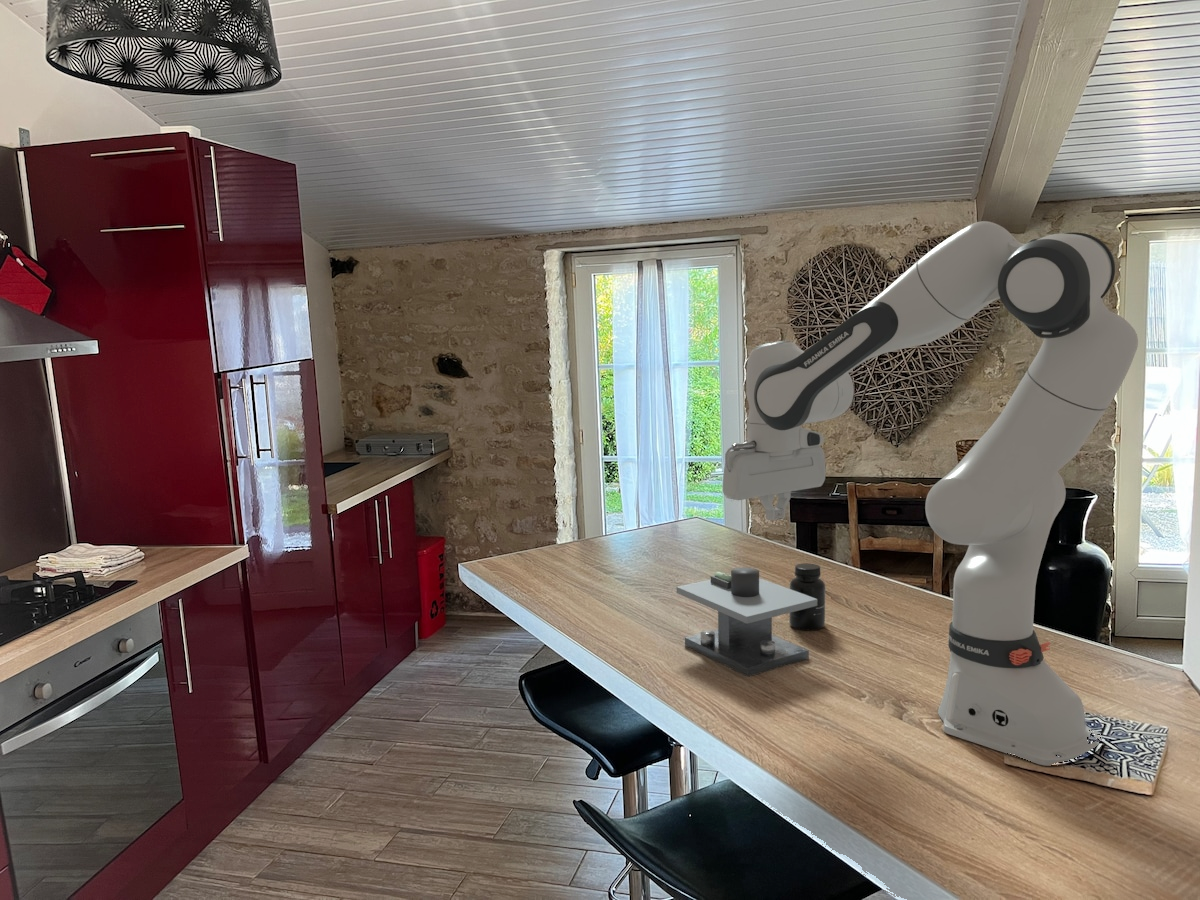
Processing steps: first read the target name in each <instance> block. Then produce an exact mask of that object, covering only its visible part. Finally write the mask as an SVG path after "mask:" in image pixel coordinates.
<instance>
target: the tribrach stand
mask: <svg viewBox="0 0 1200 900" xmlns="http://www.w3.org/2000/svg"><path fill="white" fill-rule="evenodd" d="M772 625H773V617H771V618H767V619H763V620H759V621H755V622H752V623H748V624H747V623H744V622H742V621H740V620H737V619H735V618H733V617H730V616H728V615H726V614H724V613H721V612H719V611H717V626H718V627H717V629H712V630H703V631H701V632H700V633H696V634H694V635H690V636H685V637H684V646H685V647H686V648H688V649H691V650H693V651H695V652H697V653H699V654H701V655H704V656H706V657H707V658H709V659H712V660H713V661H715V662H716V663H719V664H721V665H724V666H725V667H728V668H729V669H731V670H734V671H735V672H738V673H739V674H742V675H744V676H746V677H752V676H754V675H759V674H761V673H762V674H763V673H765V672H768V671H772V670H775V669H778V668H783V667H787V666H789V665H792V664H796V663H800V662H802V661H806V660H809V659H810V649H807V648H804V647H802V646H800V645H798V644H795V643H792V642H790V641H788V640H785V639H783V638H780V637H778V636H776V635H773V629H772V628H773V626H772Z"/></svg>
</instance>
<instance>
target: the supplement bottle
mask: <svg viewBox="0 0 1200 900" xmlns="http://www.w3.org/2000/svg"><path fill="white" fill-rule="evenodd" d="M794 566H795V567H794V578H792V579H791V580H790V582H789V589H791V590H794V591H797V592H799V593H802V594H805V595H807V596H810V597H813V598H816V599H817V606H814V607H810V608H806V609H802V610H799V611H795V612H791V613H788V614H789V616H788V618H789V624H790V627H792V628H794V629H796V630H800V631H818V630H820V629H823V627H825V625H826V624H825V623H826V622H825V621H826V620H825V619H826V584H825V582H824V580H823V579H822V578H820V577H821V566H820V565H819V564H815V563H798V564H796V565H794Z"/></svg>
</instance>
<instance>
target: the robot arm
mask: <svg viewBox="0 0 1200 900" xmlns="http://www.w3.org/2000/svg"><path fill="white" fill-rule="evenodd" d="M1115 261H1116V260H1115V258H1114V254H1113V253H1112V250H1110V248H1109V247H1108V246H1107V245H1106V243H1104V242H1103V241H1102V240H1101V239H1099V238H1098V237H1095V236H1093V235H1091V234H1088V233H1085V232H1064V233H1063V232H1062V233H1061V232H1060V233H1054V234H1053V233H1052V234H1050V235H1046V236H1043V237H1038V238H1034V239H1030V240H1028V242H1027V243H1022V242H1020V241H1019V240H1017V239H1016V238H1015V237H1014V235H1013V234H1012V233H1011V232H1010V231H1008V229H1006V228H1005V227H1004V226H1002V225H1000V224H997V223H995V222H992V221H987V220H982V221H976V222H974V223H971V224H969V225H967V226H966V227H964V228H962V229H960V230H958V231H957V232H955V233H954V234H952V235H951V236H949V237H947V238H946V239H944V240H943V241H942V242H940V243H939V244H938V245H936V246H935V247H933V248H932V249H930V250H929V251H928V252H927V253H926V254H925V255H923V256H922V257H921V258H919V259H918V260H917V261H916V262H915V263H914V264H912V265H911V266H910V267H909V268H908V269H906V270H905V272H903V273H902V274H901V275H900V276H899V277H897V279H895V280H894V281H893V282H892V283H891V284H889V285H888V286H887V287H886V288H885V289H884V290H882V292H880V293H879V294H878V295H877V296H875V297H874V298H873V299H872V300H870V301H868V303H866V304H865V305H864V306H863V307H862V308H861V309H860V310H859V311H857V312H856V313H855V314H853V315H852V316H850V317H848V318H847V319H846V320H844V321H843V322H842V323H841V324H839V325H838V326H836V327H835V328H834V329H833V330H831V331H830V332H829V333H827V334H826V335H825V336H823V337H821V338H820V339H819V340H818V341H817V342H815V343H814V344H813V345H812V346H810V347H808V348H807V349H806V350H805V351H804V350H802V349H801V348H800V347H799V346H798V345H797V344H796V343H795V342H794V341H789V340H780V341H775V342H767V343H764V344H760V345H758V346H755V347H754V348H753V349H752V350H751V351H750V353H749V355H748V358H747V364H746V375H745V376H746V380H745V382H746V383H745V384H746V386H745V387H746V389H745V393H746V400H747V402H748V414H747V420H746V422H747V423H746V425H747V431H746V434H747V441H746V442H741V443H734V444H731V446H730V447H729V448H728V449H727V450H726V452H725V453H724V468H723V477H722V493H723V495H724V496H725V497H726V499H730V500H733V501H734V500H735V501H743V500H748V499H753V498H755V499H756V498H759V501H760V503H761V505H762V506H763V508H764V510H765V519H766V520H767V521H770V522H771V521H776V520H782V519H785V518H786V509H787V506H788V504H789V502H790V500H791V497H792V496H791V493H792V492H797V491H801V490H807V489H814V488H819V487H822V486H823V485H824V482H825V481H826V455H825V451H824V449H823V448H822V447H821V446H823V445H824V442H825V439H824V438H825V435H824V434H823V433H822V432H819V431H815V430H811V429H808V428H805V427H802V426H803V425H809V424H815V423H820V422H824V421H830V420H834V419H836V418H838V417H841V416H843V415H844V414H846V412H847V411H848V410H849V409H850V408H851V406H852V404H853V402H854V397H855V385H854V381H853V380H854V379H853V378H852V375H851V373H850V372H851V371H852V370H854V369H856V368H857V367H859V366H860V365H861V364H863V363H864V362H867V361H869V360H871V359H873V358H875V357H877V356H880V355H884V354H888V353H891V352H895V351H899V350H903V349H909V348H914V347H919V346H922V345H923V346H924V345H927V344H930V343H933V342H934V341H936V340H938V339H940V338H942V337H944V336H946V335H948V334H950V333H952V332H953V331H955V330H956V329H958V328H960V327H961V326H962V325H964V324H965V323H966V322H968V321H969V320H970V319H971V318H973V317H974V316H975V315H976V314H978V313H979V312H980V311H982V310H984V308H986V307H987V306H989V304H992V303H993V302H995V301H997V300H1000V301H1001V303H1002V305H1003V306H1004V308H1005V309H1006V310H1007V311H1008V312H1009V313H1010V314H1011V315H1012V316H1014V317H1015V318H1016V319H1017V320H1018V321H1020V322H1021V323H1023V324H1024V325H1025V326H1026V327H1027V328H1028V329H1029V330H1030V331H1031V332H1032V333H1033V334H1034V335H1035V337H1038V338H1041V339H1043V341H1042V344H1041V345H1040V348H1039V350H1038V352H1037V354H1036V356H1034V359H1033V360H1032V362H1031V364H1030V365H1029V367H1028V369H1027V370H1026V371H1025V373H1024V375H1023V377H1021V378H1022V379H1021V380H1020V382H1019V383H1018V385H1017V387H1016V388H1015V390H1014V392H1013V394H1012V395H1011V397H1010V398H1009V400H1008V402H1007V403H1006V405H1005V407H1004V408H1003V410H1001V413H1000V414H999V416H998V417H997V418H996V420H995V421H994V422H993V423H992V425H991V426H990V427H989V428H988V429H987V431H986V432H985V433H983V435H982V436H981V437H980V438H979V439H978V440H977V442H975V444H974V445H973V446H972V447H971V448H970V449H969V451H967V453H966V454H964V456H963V457H962V458H961V460H960V461H959V462H958V463H957V464H956V465H955V466H954V468H952V470H951V471H949V472H948V473H947V474H946V475H945V476H943V478H941V479H940V480H938V481H937V482H936V483H935V484H934V485H933V486H932V487H931V488H930V490H929V491H928V492H927V496H926V499H925V504H924V505H925V506H924V509H925V516H926V519H927V523H928V524H929V526H930V528H931V529H932V531H933V532H934V533H935V534H936V536H938V537H939V538H940V539H942V540H944V541H945V542H947V543H949V544H954V545H957V546H958V545H961V546H968V547H967V550H966V552H965V555H964V557H963V559H962V560H961V561H960V563H959V564H958V566H957V568H956V570H955V572H954V577H953V589H952V590H953V592H952V594H953V595H952V621H951V622H950V623H949V627H948V644H947V645H948V649H949V652H950V657H949V666H948V673H947V677H946V678H947V679H946V683H945V687H944V692H943V694H942V699H941V702H940V704H939V707H938V709H937V713H938V715H939V717H940V719H941V721H942V722H943V725H942V730H943V732H944V733H945V734H948V735H950V736H953V737H956V738H959V739H962V740H964V741H968V742H971V743H973V744H976V745H981V746H983V747H985V748H989V749H992V750H995V751H998V752H1001V753H1003V754H1007V753H1008V754H1007V755H1010V753H1011V754H1015V755H1016V756H1018V757H1020V758H1019V759H1021V758H1023V760H1024V759H1026V760H1025V761H1027V760H1028V762H1030V761H1031V763H1034V764H1037V765H1039V766H1044V767H1046V766H1047V767H1051V765H1052V764H1054V763H1055V764H1056V763H1057V762H1063V761H1068V760H1070V759H1074V758H1076V757H1079V756H1080V755H1082V754H1084V753H1085V752H1087V751H1089V750H1091V749H1093V748H1095V747H1096V746H1097V745H1099V742H1092V744H1091V741H1090V744H1088V742H1089V740H1088V741H1087V737H1090V734H1091V733H1094V734H1095V735H1094V738H1098V739H1099V740H1100V741H1101V740H1102V737H1103V736H1102V737H1101V739H1100V736H1101V734H1102V733H1101V732H1099V731H1097V730H1095V729H1093V730H1092V732H1091V729H1092V728H1091V727H1089V726H1087V724H1086V713H1085V708H1084V704H1083V701H1082V699H1081V697H1080V696H1079V695H1078V693H1076V692H1075V691H1074V690H1073V689H1072V688H1071V687H1070V686H1069V685H1068V684H1067V683H1066V682H1065V681H1064V680H1063V679H1062V678H1061V676H1060V675H1058V673H1057V672H1055V671H1054V669H1053V668H1051V666H1050V665H1049V664H1048V663H1047V662H1046V661H1045V659H1044V657H1045V656H1044V654H1043V652H1046V651H1049V650H1050V649H1051V648H1050V647H1049V646H1050V645H1051V642H1050V641H1047V642H1044V643H1041V644H1040V641H1039V639H1038V636H1037V633H1036V631H1035V629H1034V618H1035V617H1034V615H1035V600H1036V585H1037V579H1038V574H1039V569H1040V566H1041V561H1042V560H1043V559H1042V558H1043V556H1044V555H1043V554H1044V551H1045V549H1046V545H1047V541H1048V538H1049V535H1050V531H1051V528H1052V526H1053V524H1054V521H1055V519H1056V517H1057V516H1058V514H1059V512H1060V511H1061V510H1062V508H1063V506H1064V504H1065V501H1066V494H1067V491H1066V485H1065V482H1064V479H1063V477H1062V475H1061V474H1060V473H1059V471H1060V470H1061V469H1062V468H1063V467H1064V466H1065V465H1066V464H1069V462H1070V461H1072V460H1073V459H1075V457H1076V456H1077V454H1078V453H1079V452H1080V451H1081V449H1082V448H1083V445H1084V444H1085V442H1086V441H1087V440H1088V438H1089V437H1090V435H1091V433H1093V430H1094V429H1095V427H1096V426H1097V424H1098V423H1099V422H1100V420H1101V418H1102V416H1103V415H1104V414H1105V412H1106V411H1107V409H1108V407H1109V406H1110V405H1111V403H1112V401H1113V400H1114V398H1115V396H1116V395H1117V394H1118V391H1119V389H1120V388H1121V386H1122V384H1123V382H1124V381H1125V378H1126V376H1127V374H1128V372H1129V369H1130V367H1131V365H1132V364H1133V360H1134V358H1135V355H1136V352H1137V349H1138V347H1139V339H1138V338H1139V337H1138V333H1137V332H1136V330H1135V328H1134V327H1133V326H1132V325H1131V323H1130V322H1129V321H1127V320H1126V319H1125V318H1124V317H1122V315H1119V314H1117V313H1115V312H1113V311H1110V309H1109V308H1108V307H1107V306H1106V305H1105V303H1104V301H1103V298H1104V297H1105V295H1107V293H1108V292H1109V291H1110V288H1111V287H1112V285H1113V283H1114V280H1115V279H1114V278H1115V276H1116V275H1115V274H1116V262H1115ZM775 496H776V498H777V502H776V504H775V506H774V504H773V501H775ZM1089 730H1090V731H1089ZM1094 730H1095V731H1094ZM1088 731H1089V732H1088ZM1093 731H1094V732H1093ZM1096 731H1097V732H1096ZM1096 734H1100V736H1098V735H1096ZM1092 735H1093V734H1092ZM1091 737H1092V736H1091ZM1056 755H1058V756H1061V757H1056ZM1016 756H1015V757H1016ZM1018 757H1017V758H1018Z"/></svg>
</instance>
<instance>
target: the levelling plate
mask: <svg viewBox="0 0 1200 900" xmlns="http://www.w3.org/2000/svg"><path fill="white" fill-rule="evenodd" d="M676 594H677V595H681V596H683V597H685V598H686V599H689V600H692V601H694V602H697V603H698V604H701V605H703V606H705V607H708V608H710V609H713V610H715V611H717V612H718V611H719V612H721V613H724V614H726V615H728V616H730V617H733V618H735V619H737V620H740V621H742V622H744V623H747V624H748V623H752V622H755V621H759V620H763V619H767V618H771V617H772V618H775V617H778V616H782V615H786V614H789V613H791V612H795V611H799V610H802V609H806V608H810V607H814V606H817V599H816V598H813V597H810V596H807V595H805V594H802V593H799V592H797V591H794V590H791V589H790V588H789V587H788V588H787V587H785V586H783V585H780V584H778V583H774V582H771V581H770V580H766V579H763V578H760V570H758V569H757V568H755V567H744V566H743V567H735V568H733V569H731V570H730V574H726V573H725V572H720V571H716V572H715V573H714V575H710V579H706V580H701V581H698V582H693V583H688V584H683V585H679V586H676Z"/></svg>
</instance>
